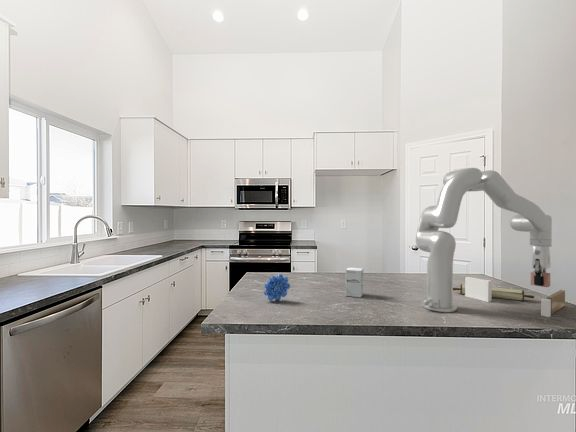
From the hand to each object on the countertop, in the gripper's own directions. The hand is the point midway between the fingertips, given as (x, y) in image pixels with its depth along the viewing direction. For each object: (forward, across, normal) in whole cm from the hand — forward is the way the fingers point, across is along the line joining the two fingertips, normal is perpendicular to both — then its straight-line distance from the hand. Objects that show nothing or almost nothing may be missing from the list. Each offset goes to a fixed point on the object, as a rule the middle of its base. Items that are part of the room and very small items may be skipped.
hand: (540, 283), depth 139 cm
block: (+1, 0, 0) cm, 1 cm away
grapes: (+7, -88, +76) cm, 116 cm away
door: (+8, -10, -7) cm, 15 cm away
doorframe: (+8, -18, +9) cm, 22 cm away
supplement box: (+8, -54, +60) cm, 81 cm away
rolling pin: (+8, -8, +17) cm, 20 cm away
